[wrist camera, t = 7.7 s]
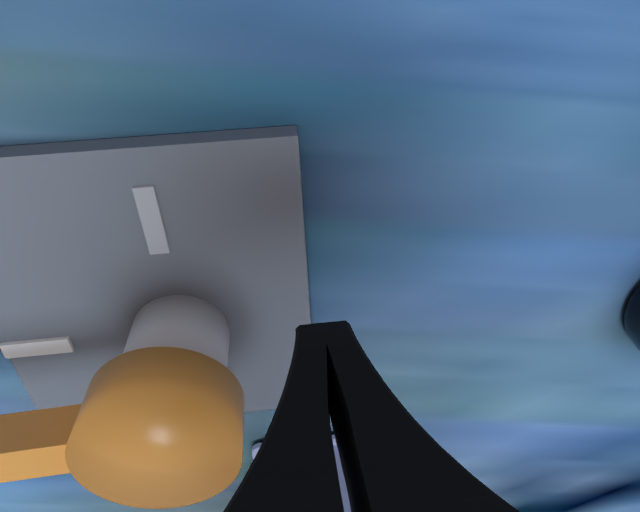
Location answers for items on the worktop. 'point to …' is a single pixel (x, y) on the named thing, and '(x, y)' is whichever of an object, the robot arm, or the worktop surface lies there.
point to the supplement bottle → (633, 317)
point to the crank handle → (138, 431)
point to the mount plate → (153, 256)
